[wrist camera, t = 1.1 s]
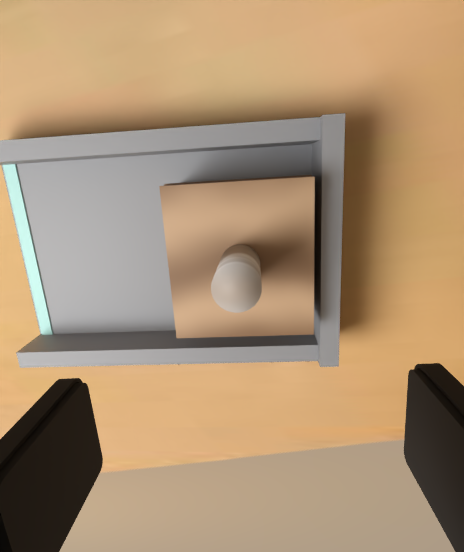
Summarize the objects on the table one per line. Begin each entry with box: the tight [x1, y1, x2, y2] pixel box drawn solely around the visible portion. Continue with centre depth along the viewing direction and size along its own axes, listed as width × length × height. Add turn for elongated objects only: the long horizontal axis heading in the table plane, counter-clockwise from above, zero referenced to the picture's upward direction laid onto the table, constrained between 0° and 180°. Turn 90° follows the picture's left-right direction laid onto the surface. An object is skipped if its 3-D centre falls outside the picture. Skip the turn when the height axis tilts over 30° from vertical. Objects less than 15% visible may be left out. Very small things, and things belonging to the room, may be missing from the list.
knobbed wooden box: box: [159, 175, 315, 338], centre depth 27 cm, size 12×11×13 cm
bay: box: [0, 113, 345, 368], centre depth 32 cm, size 20×30×6 cm
